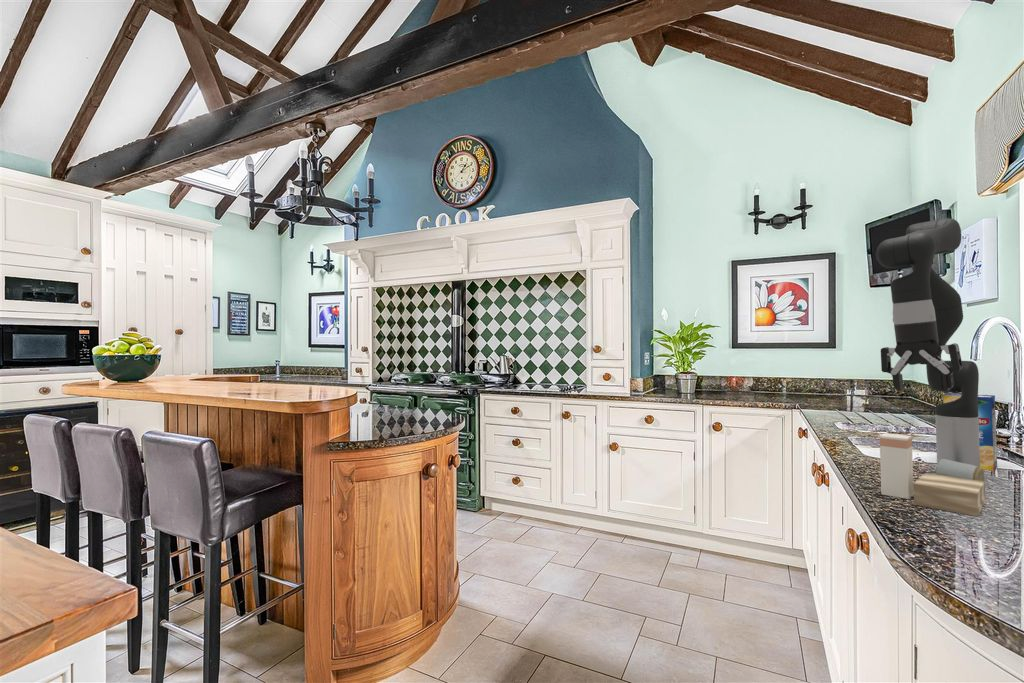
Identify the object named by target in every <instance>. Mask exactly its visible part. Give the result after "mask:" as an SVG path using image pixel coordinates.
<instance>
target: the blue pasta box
mask: <svg viewBox="0 0 1024 683" xmlns="http://www.w3.org/2000/svg"><path fill="white" fill-rule="evenodd" d="M961 395H962V393H954V392H947V393H945V394H943V395H942V397H943V398H942V400H943V403H948V402H952V401H955V400H957V399H959V398H960V397H961ZM996 417H997V416H996V395H993V394H992V395H991V394H978V420H979V445H980V468H981V469H983V471H990V472H991V471H992V472H994V471H996V469H997V468H998V453H997V452H998V449H997V423H996V422H997V421H996Z"/></svg>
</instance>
